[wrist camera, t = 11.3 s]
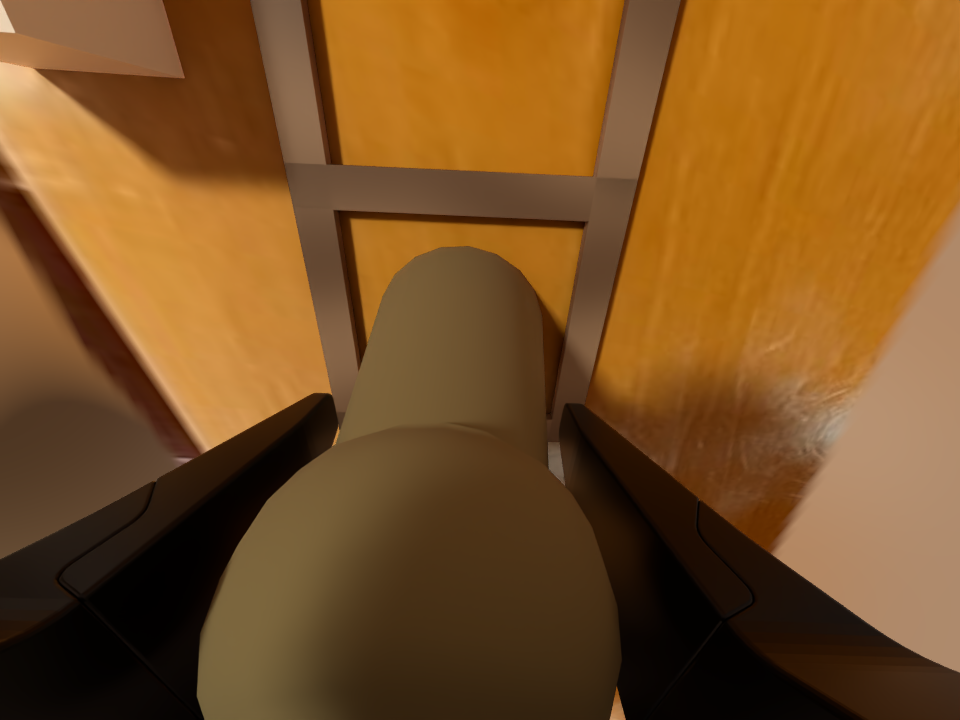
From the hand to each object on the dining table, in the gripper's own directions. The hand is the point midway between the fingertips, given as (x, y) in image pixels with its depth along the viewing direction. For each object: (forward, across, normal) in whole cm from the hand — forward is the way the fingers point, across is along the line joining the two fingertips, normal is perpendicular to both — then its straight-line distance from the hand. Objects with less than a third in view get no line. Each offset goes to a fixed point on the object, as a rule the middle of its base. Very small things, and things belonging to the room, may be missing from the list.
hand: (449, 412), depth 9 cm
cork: (+5, 0, 0) cm, 5 cm away
